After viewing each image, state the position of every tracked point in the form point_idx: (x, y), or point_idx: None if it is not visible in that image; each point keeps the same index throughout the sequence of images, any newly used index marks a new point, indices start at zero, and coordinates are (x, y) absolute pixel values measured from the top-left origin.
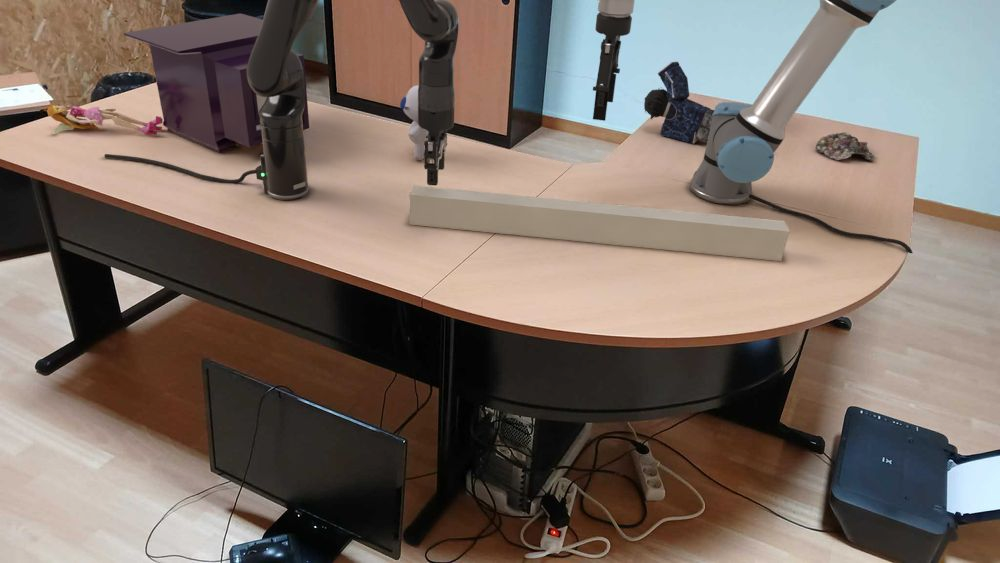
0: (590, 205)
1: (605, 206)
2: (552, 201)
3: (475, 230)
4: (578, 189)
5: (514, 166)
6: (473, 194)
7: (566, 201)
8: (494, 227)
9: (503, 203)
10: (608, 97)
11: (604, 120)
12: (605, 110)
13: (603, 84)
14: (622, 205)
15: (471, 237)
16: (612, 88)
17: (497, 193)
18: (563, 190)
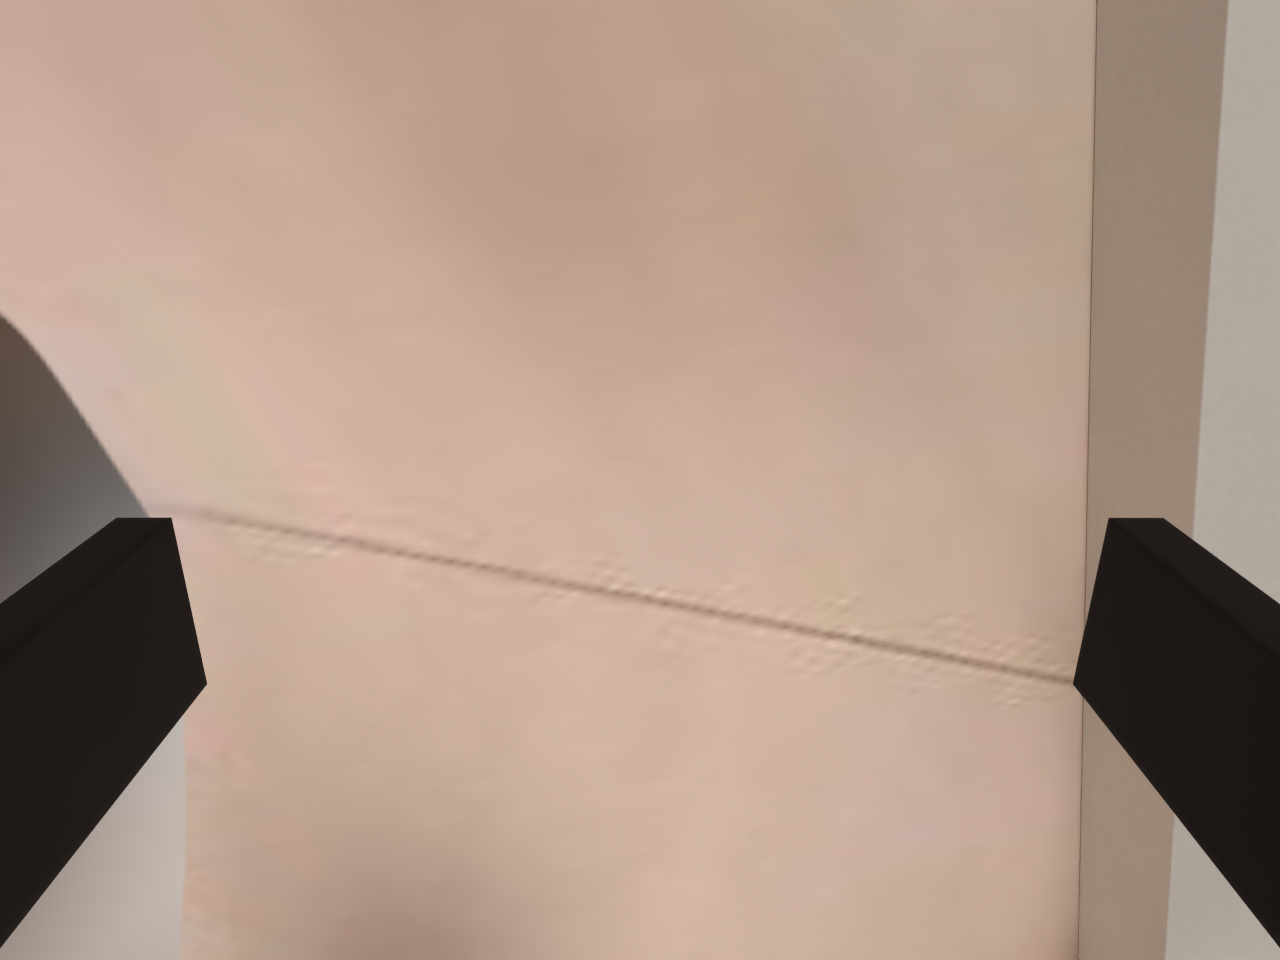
0: (1266, 302)
1: (1270, 189)
2: (1237, 553)
3: None
4: (516, 414)
5: (367, 790)
6: (1213, 942)
7: (1223, 470)
8: None
9: None
10: (149, 625)
11: (1163, 525)
12: (1275, 613)
13: (33, 894)
14: (1229, 53)
15: None
16: (25, 681)
17: (1176, 847)
18: (569, 495)
